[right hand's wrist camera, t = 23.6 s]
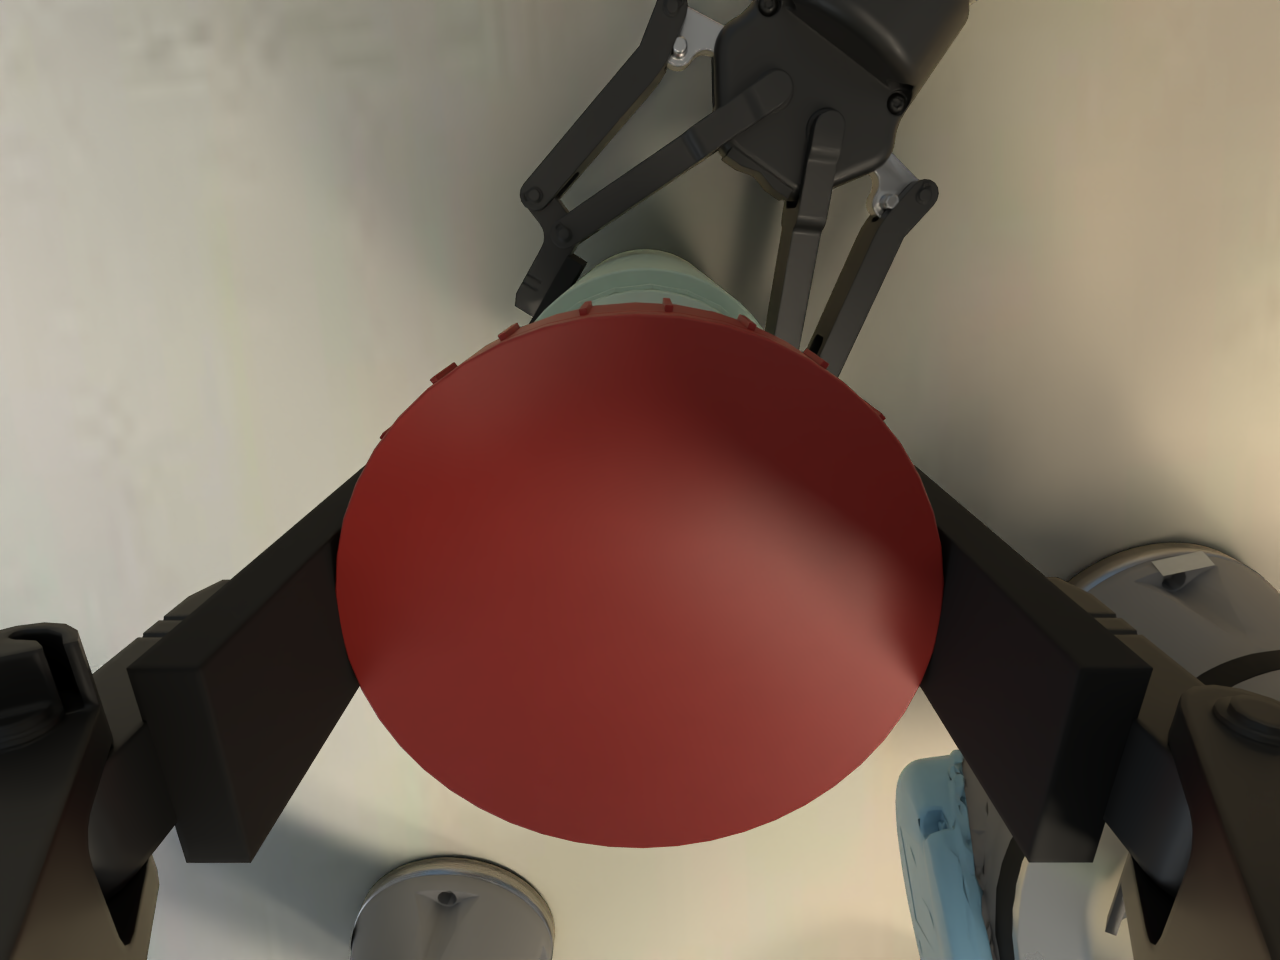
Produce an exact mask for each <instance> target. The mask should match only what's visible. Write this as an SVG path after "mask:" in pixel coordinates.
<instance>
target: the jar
mask: <svg viewBox="0 0 1280 960" xmlns="http://www.w3.org/2000/svg"><path fill="white" fill-rule="evenodd" d="M663 298H670V300H671V302H672V304H676V305H681V306H687V307H692V308H697V309H702V310H708V311H713V312H717V313H720V314H723V315H726V316H728V317H731V318H734V319H737V318H738V316H739V314H741V315H744V316H746V317H747V318H749V319H750V320H751V321H752V322H754V323H755V324H756V325H757V326H756V327H758V328H760V329H762V330H763V328H762V327H761V326H760V324H759V323H758V322H757V320H756V319H755V318H754V316H753V315H752V314H751V313H750V312H749V311H748V310H747V309H746V308H745V307H744V306H743V305H742V304H741V303H740V302H739V301H737V300H736V299H735V298H734V297H732V296H731V295H730V294H728V293H727V292H726V291H725V290H723V289H722V288H721V287H720V286H718V285H717V284H716V283H715V282H713V281H712V280H711V279H709V278H708V277H707V276H706V275H704V274H703V273H702V272H701V271H699V270H698V269H697V268H695V267H694V266H693V265H692V264H690V263H689V262H687V261H686V260H684V259H682V258H680V257H678V256H676V255H673V254H671V253H668V252H664V251H660V250H652V249H637V250H631V251H626V252H623V253H619V254H616V255H614V256H612V257H610V258H608V259H606V260H604V261H603V262H601V263H600V264H598V265H597V266H596V267H594V268H593V269H592V270H591V271H590V272H588V273H587V274H586V275H585V276H584V277H582V278H581V279H580V280H579V281H578V282H576V283H575V284H574V285H573V286H572V287H570V288H569V289H568V290H567V291H566V292H564V293H563V294H562V295H561V296H560V297H558V298H557V299H556V300H555V301H554V302H553V303H552V304H551V305H549V306H548V307H547V308H546V309H545V310H544V311H543V312H542V313H541V315H540V316H539V317H538V318H537V319H536V320H535V322H536V321H539V320H542V319H544V318H547V317H550V316H553V315H555V314H559V313H564V312H568V311H573V310H577V309H580V307H581V306H582V305H583V304H584V302H586V301H592V306H595V305H608V304H620V303H632V302H640V303H659V304H663V303H662V302H663Z"/></svg>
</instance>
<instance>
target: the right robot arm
mask: <svg viewBox="0 0 1280 960" xmlns="http://www.w3.org/2000/svg"><path fill="white" fill-rule="evenodd" d="M364 467H365V466H364ZM364 467H363V468H361V469H360V470H359V471H358V472H357V473H355V474H354V475H353V476H352V477H351V478H350V479H348V480H347V481H346V482H345V483H344V484H343V485H341V486H340V487H339V488H338V489H337V490H335V491H334V492H333V493H332V494H331V495H330V496H328V497H327V498H326V499H325V500H324V501H323V502H321V503H320V504H319V505H318V506H317V507H315V508H314V509H313V510H312V511H311V512H310V513H308V514H307V515H306V516H305V517H304V518H303V519H301V520H300V521H299V522H298V523H297V524H295V525H294V526H293V527H292V528H291V529H290V530H288V531H287V532H286V533H285V534H284V535H283V536H281V537H280V538H279V539H278V540H277V541H275V542H274V543H273V544H272V545H271V546H270V547H268V548H267V549H266V550H265V551H264V552H263V553H261V554H260V555H259V556H258V557H257V558H255V559H254V560H253V561H252V562H251V563H250V564H248V565H247V566H246V567H245V568H244V569H243V570H241V571H240V572H239V573H238V574H237V575H235V576H234V577H233V578H232V579H231V580H221V581H219V582H217V583H215V584H213V585H211V586H209V587H207V588H205V589H203V590H201V591H199V592H197V593H195V594H193V595H191V596H189V597H187V598H186V599H185V600H184V601H182V602H181V603H180V604H179V605H177V606H176V607H175V608H174V609H173V610H171V611H170V612H169V613H168V614H166V615H165V616H164V620H159V621H158V622H156V623H155V624H154V625H153V626H151V627H150V628H149V629H148V630H147V631H145V632H144V633H143V637H142V638H137V639H135V640H134V641H133V642H132V643H130V644H129V645H128V646H127V647H125V648H124V649H123V650H122V651H121V652H119V653H118V654H117V655H116V656H114V657H113V658H112V659H111V660H109V661H108V662H107V663H106V664H104V665H103V666H102V667H101V668H100V669H98V670H97V671H96V672H95V673H93V674H92V672H91V669H90V666H89V663H88V660H87V657H86V654H85V651H84V648H83V645H82V642H81V639H80V636H79V633H78V630H76V629H74V628H72V627H71V626H69V625H67V624H60V623H45V622H44V623H36V624H28V625H20V626H14V627H10V628H6V629H3V630H0V960H147V955H148V949H149V943H150V937H151V931H152V925H153V919H154V913H155V907H156V901H157V895H158V889H159V879H158V872H157V868H156V865H155V862H154V859H153V856H152V854H153V852H154V851H155V850H156V848H157V847H158V846H159V845H160V843H161V842H162V841H163V840H164V838H165V837H166V836H167V834H168V833H169V832H170V831H171V829H172V828H173V827H174V825H175V827H176V830H177V834H178V837H179V840H180V843H181V846H182V850H183V853H184V856H185V859H186V863H251V861H252V860H253V858H254V856H255V855H256V853H257V852H258V850H259V848H260V847H261V845H262V843H263V842H264V840H265V839H266V837H267V835H268V834H269V832H270V831H271V829H272V827H273V826H274V824H275V822H276V821H277V819H278V818H279V816H280V814H281V813H282V811H283V809H284V808H285V806H286V805H287V803H288V801H289V800H290V798H291V796H292V795H293V793H294V792H295V790H296V788H297V787H298V785H299V783H300V782H301V780H302V779H303V777H304V775H305V774H306V772H307V771H308V769H309V767H310V766H311V764H312V762H313V761H314V759H315V758H316V756H317V754H318V753H319V751H320V749H321V748H322V746H323V745H324V743H325V741H326V740H327V738H328V736H329V735H330V733H331V732H332V730H333V728H334V727H335V725H336V723H337V722H338V720H339V719H340V717H341V715H342V714H343V712H344V711H345V709H346V707H347V706H348V704H349V702H350V701H351V699H352V698H353V696H354V694H355V693H356V691H357V689H358V688H359V686H360V685H359V683H358V680H357V678H356V676H355V673H354V671H353V669H352V666H351V664H350V661H349V659H348V656H347V652H346V648H345V644H344V639H343V634H342V629H341V623H340V617H339V611H338V605H337V599H336V592H335V587H336V558H337V550H338V544H339V539H340V534H341V529H342V523H343V518H344V515H345V513H346V510H347V507H348V504H349V501H350V499H351V496H352V493H353V490H354V487H355V484H356V482H357V480H358V478H359V477H360V475H361V473H362V471H363V469H364ZM914 467H915V469H916V470H917V472H918V474H919V476H920V478H921V480H922V483H923V485H924V488H925V491H926V493H927V496H928V498H929V501H930V503H931V506H932V509H933V511H934V515H935V520H936V524H937V529H938V533H939V538H940V542H941V547H942V561H943V577H944V588H943V600H942V608H941V614H940V620H939V625H938V631H937V636H936V641H935V646H934V650H933V653H932V656H931V658H930V661H929V664H928V666H927V669H926V671H925V674H924V676H923V679H922V681H921V684H920V687H921V689H922V690H923V692H924V693H925V695H926V697H927V698H928V700H929V701H930V703H931V705H932V706H933V708H934V710H935V711H936V713H937V714H938V716H939V718H940V719H941V721H942V723H943V724H944V726H945V727H946V729H947V731H948V732H949V734H950V736H951V737H952V739H953V740H954V742H955V744H956V745H957V747H958V749H959V750H960V752H961V753H962V755H963V757H964V758H965V760H966V762H967V763H968V765H969V766H970V768H971V770H972V771H973V773H974V774H975V776H976V778H977V779H978V781H979V783H980V784H981V786H982V787H983V789H984V791H985V792H986V794H987V796H988V797H989V799H990V800H991V802H992V804H993V805H994V807H995V809H996V810H997V812H998V813H999V815H1000V817H1001V818H1002V820H1003V822H1004V823H1005V825H1006V826H1007V828H1008V830H1009V831H1010V833H1011V834H1012V836H1013V838H1014V839H1015V841H1016V843H1017V844H1018V846H1019V847H1020V849H1021V851H1022V852H1023V854H1024V856H1025V857H1026V859H1027V860H1028V862H1029V863H1093V861H1094V858H1095V854H1096V851H1097V848H1098V845H1099V841H1100V838H1101V835H1102V832H1103V829H1104V825H1105V822H1106V824H1107V825H1108V826H1109V827H1110V829H1111V830H1112V831H1113V832H1114V834H1115V835H1116V836H1117V838H1118V839H1119V840H1120V841H1121V843H1122V844H1123V845H1124V846H1125V848H1126V849H1127V850H1128V851H1129V853H1128V856H1127V859H1126V862H1125V865H1124V868H1123V871H1122V874H1121V877H1120V880H1119V883H1118V886H1117V889H1116V892H1115V895H1114V898H1113V901H1112V904H1111V907H1110V910H1109V913H1108V916H1107V922H1106V928H1105V932H1107V933H1109V934H1112V935H1115V936H1117V933H1118V930H1119V927H1120V924H1121V921H1122V920H1123V919H1125V918H1127V923H1128V929H1129V935H1130V941H1131V947H1132V953H1133V959H1134V960H1280V702H1279V701H1277V700H1275V699H1273V698H1270V697H1267V696H1263V695H1260V694H1257V693H1254V692H1250V691H1247V690H1244V689H1240V688H1233V687H1226V686H1219V685H1204V684H1203V683H1202V682H1201V681H1199V680H1198V679H1197V678H1196V677H1194V676H1193V675H1192V674H1191V673H1189V672H1188V671H1187V670H1186V669H1184V668H1183V667H1182V666H1181V665H1179V664H1178V663H1177V662H1176V661H1174V660H1173V659H1172V658H1171V657H1169V656H1168V655H1167V654H1166V653H1164V652H1163V651H1162V650H1161V649H1159V648H1158V647H1157V646H1156V645H1155V644H1153V643H1152V642H1151V641H1150V640H1148V639H1147V638H1146V637H1145V636H1143V635H1138V634H1137V630H1136V629H1135V628H1133V627H1132V626H1131V625H1130V624H1128V623H1127V622H1126V621H1125V620H1123V619H1122V618H1117V617H1116V613H1115V612H1113V611H1112V610H1111V609H1110V608H1108V607H1107V606H1106V605H1105V604H1103V603H1102V602H1101V601H1100V600H1098V599H1097V598H1096V597H1095V596H1093V595H1092V594H1090V593H1088V592H1086V591H1084V590H1082V589H1080V588H1078V587H1076V586H1074V585H1072V584H1070V583H1068V582H1066V581H1064V580H1062V579H1060V578H1058V577H1045V576H1044V575H1043V574H1042V573H1041V572H1039V571H1038V570H1037V569H1036V568H1035V567H1033V566H1032V565H1031V564H1030V563H1029V562H1028V561H1026V560H1025V559H1024V558H1023V557H1022V556H1021V555H1019V554H1018V553H1017V552H1016V551H1015V550H1013V549H1012V548H1011V547H1010V546H1009V545H1008V544H1006V543H1005V542H1004V541H1003V540H1002V539H1001V538H999V537H998V536H997V535H996V534H995V533H993V532H992V531H991V530H990V529H989V528H988V527H986V526H985V525H984V524H983V523H982V522H981V521H979V520H978V519H977V518H976V517H975V516H973V515H972V514H971V513H970V512H969V511H968V510H966V509H965V508H964V507H963V506H962V505H961V504H959V503H958V502H957V501H956V500H955V499H953V498H952V497H951V496H950V495H949V494H948V493H946V492H945V491H944V490H943V489H942V488H941V487H939V486H938V485H937V484H936V483H935V482H933V481H932V480H931V479H930V478H929V477H928V476H926V475H925V474H924V473H923V472H922V471H921V470H919V469H918V468H917V467H916V466H915V465H914ZM351 931H352V929H351ZM554 938H555V927H554V921H553V918H552V914H551V912H550V910H549V908H548V906H547V904H546V903H545V901H544V900H543V899H542V897H541V896H540V895H539V894H538V893H537V892H536V891H535V889H533V888H532V887H531V886H530V885H529V884H528V883H526V882H525V881H524V880H522V879H521V878H519V877H518V876H516V875H514V874H513V873H511V872H509V871H507V870H505V869H502V868H500V867H497V866H495V865H492V864H488V863H485V862H481V861H477V860H471V859H465V858H449V857H444V858H431V859H425V860H420V861H416V862H412V863H409V864H406V865H404V866H401V867H399V868H397V869H395V870H393V871H391V872H389V873H388V874H386V875H385V876H384V877H382V878H381V879H380V880H379V881H378V882H377V883H376V884H375V885H374V886H373V887H372V888H371V889H370V891H369V892H368V894H367V896H366V897H365V900H364V902H363V905H362V907H361V909H360V912H359V914H358V917H357V919H356V922H355V926H354V930H353V935H352V941H351V958H350V960H552V954H553V946H554ZM350 940H351V937H350ZM349 949H350V946H349ZM348 958H349V956H348Z"/></svg>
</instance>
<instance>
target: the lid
mask: <svg viewBox="0 0 1280 960" xmlns="http://www.w3.org/2000/svg"><path fill="white" fill-rule="evenodd" d="M662 303H663V304H659V303H640V302H632V303H620V304H608V305H595V306H592V301H586V302H584V304H583V305H582V306H581V307H580V309H577V310H573V311H568V312H564V313H559V314H555V315H553V316H550V317H547V318H544V319H542V320H539V321H536V322H534V323H531V324H528V325H525V326H523V327H519V325H518V323H516V324H513V325H511V326H510V327H509V328H507V329H506V330H504V331H503V332H502V333H500V334H499V335H498V337H499V339H497V340H496V341H494V342H492V343H490V344H488V345H486V346H485V347H483V348H482V349H481V350H479V351H478V352H477V353H475V354H474V355H472V356H471V357H470V358H468V359H467V360H466V361H464V362H463V363H462V364H460V365H459V366H457V365H456V364H455V363H454V362H453V363H452V364H451V365H449V366H448V367H446V368H445V369H443V370H442V371H441V372H439V373H438V374H436V375H435V376H434V377H432V378H431V379H430V381H431V382H432V383H433V385H432V386H430V387H429V388H428V389H427V390H426V391H425V392H424V393H423V394H422V395H420V396H419V397H418V398H417V399H416V400H415V401H414V402H413V403H412V404H411V405H410V406H409V407H408V408H407V409H406V410H405V411H404V412H403V413H402V414H401V415H400V416H399V417H398V418H397V420H396V421H395V422H394V424H393V425H392V426H391V427H390V428H388V429H387V430H386V431H385V432H383V433H382V435H381V436H380V439H382V440H381V441H380V442H379V444H378V445H377V446H376V448H375V449H374V451H373V452H372V454H371V456H370V458H369V460H368V462H367V464H366V465H365V467H364V469H363V471H362V473H361V475H360V477H359V478H358V480H357V482H356V484H355V487H354V490H353V493H352V496H351V499H350V501H349V504H348V507H347V510H346V513H345V515H344V518H343V523H342V529H341V534H340V539H339V544H338V550H337V558H336V587H335V592H336V599H337V605H338V611H339V617H340V623H341V629H342V634H343V639H344V644H345V648H346V652H347V656H348V659H349V661H350V664H351V666H352V669H353V671H354V673H355V676H356V678H357V680H358V683H359V685H360V687H361V690H362V691H363V693H364V695H365V696H366V698H367V700H368V701H369V703H370V705H371V707H372V708H373V710H374V712H375V713H376V715H377V717H378V718H379V720H380V721H381V722H382V724H383V725H384V726H385V727H386V729H387V730H388V731H389V732H390V734H391V735H392V736H393V738H394V739H395V740H396V741H397V743H398V744H399V745H400V746H401V747H402V748H403V749H404V750H405V751H406V752H407V753H408V754H409V755H410V756H411V757H412V758H413V759H414V760H415V761H416V762H417V763H418V764H419V765H420V766H421V767H422V768H423V769H424V770H425V771H426V772H428V773H429V774H430V775H432V776H433V777H434V778H435V779H437V780H438V781H439V782H441V783H442V784H443V785H444V786H446V787H447V788H448V789H449V790H451V791H452V792H454V793H456V794H457V795H459V796H461V797H462V798H464V799H465V800H467V801H469V802H470V803H472V804H474V805H475V806H477V807H478V808H480V809H482V810H484V811H487V812H489V813H491V814H493V815H495V816H497V817H499V818H501V819H503V820H505V821H508V822H510V823H512V824H515V825H518V826H521V827H524V828H527V829H529V830H532V831H535V832H538V833H541V834H544V835H548V836H552V837H557V838H561V839H565V840H569V841H573V842H579V843H586V844H593V845H600V846H607V847H629V848H652V847H669V846H680V845H687V844H693V843H699V842H706V841H711V840H715V839H719V838H723V837H727V836H730V835H734V834H738V833H742V832H745V831H748V830H750V829H753V828H756V827H758V826H761V825H764V824H766V823H769V822H772V821H774V820H777V819H778V818H780V817H782V816H784V815H786V814H788V813H790V812H792V811H794V810H796V809H798V808H800V807H802V806H804V805H806V804H808V803H809V802H811V801H812V800H814V799H816V798H817V797H819V796H820V795H822V794H823V793H825V792H826V791H828V790H829V789H831V788H833V787H834V786H835V785H837V784H838V783H839V782H840V781H841V780H843V779H844V778H845V777H846V776H847V775H849V774H850V773H851V772H852V771H854V770H855V769H856V768H857V767H858V766H860V765H861V764H862V763H863V762H864V761H865V760H866V759H867V757H868V756H869V755H870V754H871V753H872V752H873V751H874V750H875V749H876V748H877V747H878V746H879V745H880V744H881V743H882V742H883V741H884V740H885V738H886V737H887V736H888V734H889V733H890V732H891V730H892V729H893V727H894V726H895V725H896V723H897V722H898V721H899V719H900V718H901V717H902V715H903V714H904V712H905V711H906V709H907V707H908V705H909V704H910V702H911V700H912V698H913V696H914V695H915V693H916V691H917V689H918V687H919V686H920V684H921V681H922V679H923V676H924V674H925V671H926V669H927V666H928V664H929V661H930V658H931V656H932V653H933V650H934V646H935V641H936V636H937V631H938V625H939V620H940V614H941V608H942V600H943V588H944V577H943V561H942V547H941V542H940V538H939V533H938V529H937V524H936V520H935V515H934V511H933V509H932V506H931V503H930V501H929V498H928V496H927V493H926V491H925V488H924V485H923V483H922V480H921V478H920V476H919V474H918V472H917V470H916V469H915V467H914V465H913V464H912V462H911V460H910V458H909V457H908V455H907V453H906V451H905V450H904V448H903V446H902V445H901V443H900V442H899V440H898V439H897V438H896V437H895V435H894V434H893V433H892V432H891V430H890V429H889V428H888V427H887V425H886V424H885V423H884V422H883V420H885V419H886V418H885V417H884V416H883V414H882V413H880V412H879V411H878V410H876V409H875V408H874V407H872V406H871V405H870V404H868V403H867V402H866V401H864V400H863V399H862V398H860V397H859V396H858V395H857V394H856V393H855V392H854V391H853V390H852V389H851V388H850V387H849V386H847V385H846V384H845V383H844V382H843V381H841V380H840V379H839V378H837V377H836V376H835V375H833V374H832V373H831V372H829V371H828V370H826V369H827V367H828V366H829V363H827V362H826V361H825V360H823V359H822V358H820V357H819V356H817V355H816V354H815V353H813V352H812V351H810V350H809V349H807V348H806V350H805V351H804V352H803V353H802V352H801V351H799V350H798V349H797V348H795V347H794V346H792V345H791V344H789V343H788V342H786V341H784V340H782V339H780V338H778V337H776V336H774V335H772V334H770V333H768V332H766V331H764V330H762V329H760V328H758V327H756V326H757V325H756V324H755V323H754V322H752V321H751V320H750V319H749V318H747V317H746V316H744V315H741V314H739V316H738V318H737V319H734V318H731V317H728V316H726V315H723V314H720V313H717V312H713V311H708V310H702V309H697V308H692V307H687V306H681V305H676V304H672V302H671V300H670V298H663V302H662Z"/></svg>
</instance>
